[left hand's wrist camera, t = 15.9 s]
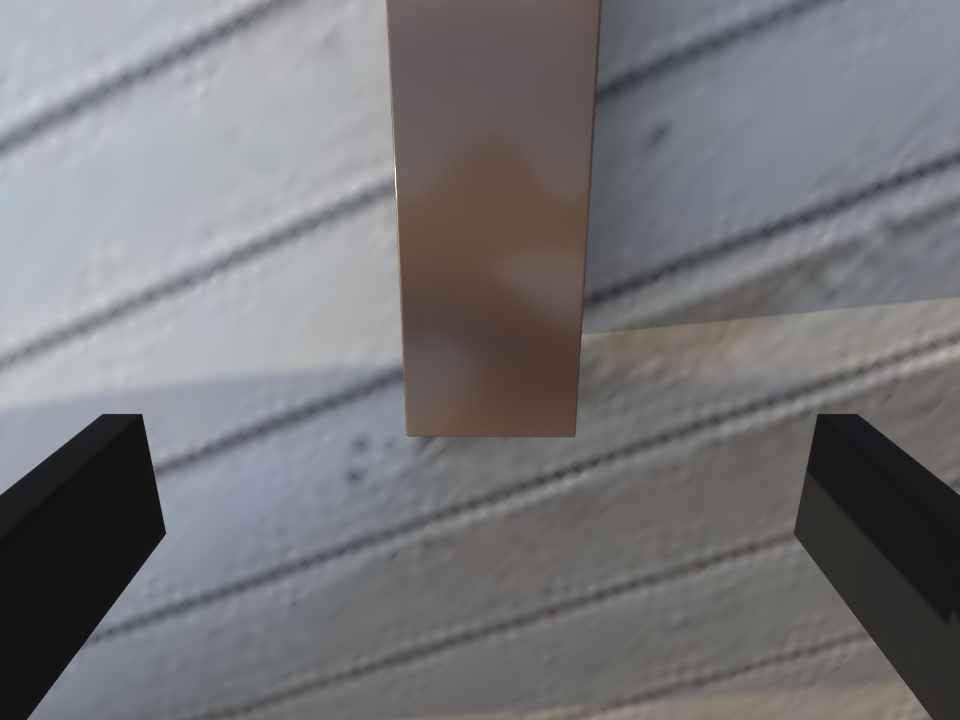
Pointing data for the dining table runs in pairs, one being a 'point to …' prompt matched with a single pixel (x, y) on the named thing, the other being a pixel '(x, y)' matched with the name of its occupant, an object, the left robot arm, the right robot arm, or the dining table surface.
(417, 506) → the dining table surface
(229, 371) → the dining table surface
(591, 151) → the bar
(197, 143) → the dining table surface
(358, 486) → the dining table surface
